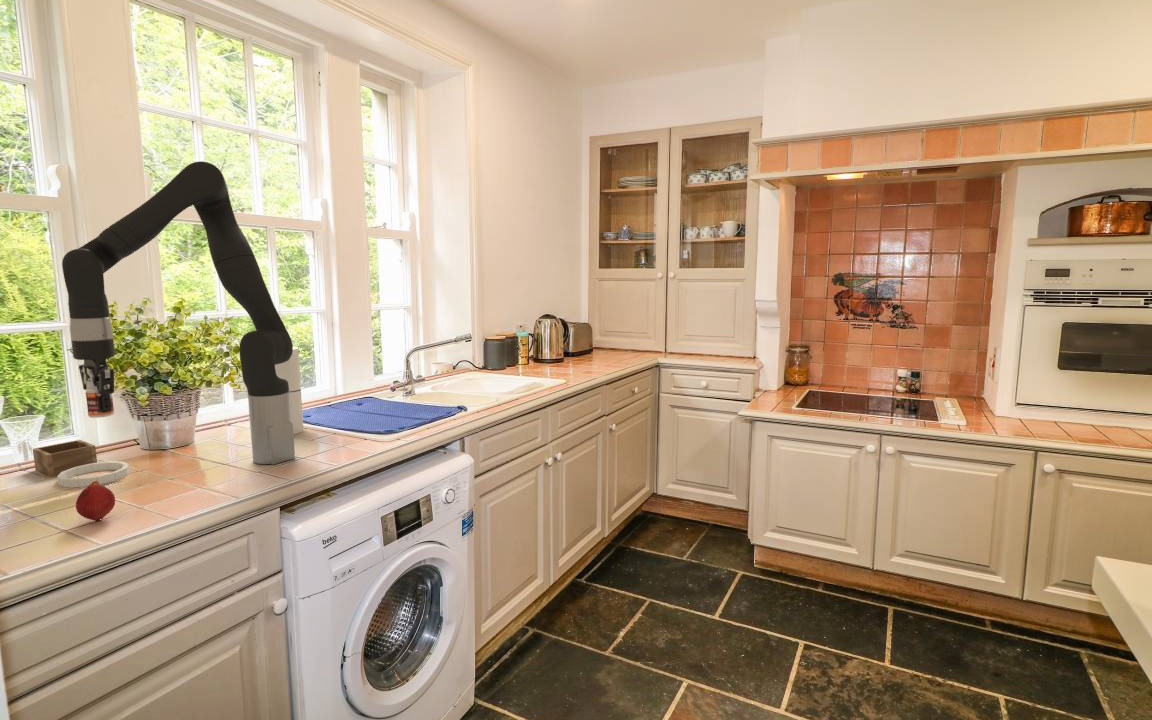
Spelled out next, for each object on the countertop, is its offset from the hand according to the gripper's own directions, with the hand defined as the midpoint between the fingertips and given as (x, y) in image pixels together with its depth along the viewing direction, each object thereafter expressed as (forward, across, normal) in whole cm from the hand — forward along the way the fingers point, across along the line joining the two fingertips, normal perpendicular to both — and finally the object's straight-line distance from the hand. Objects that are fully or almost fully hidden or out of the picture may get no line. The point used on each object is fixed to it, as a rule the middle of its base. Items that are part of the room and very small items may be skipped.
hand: (100, 409), depth 138 cm
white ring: (+15, -4, +4) cm, 16 cm away
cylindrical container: (+16, 0, -45) cm, 48 cm away
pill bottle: (+2, 0, 0) cm, 2 cm away
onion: (+16, -31, +12) cm, 37 cm away
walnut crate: (+15, +9, +5) cm, 19 cm away
